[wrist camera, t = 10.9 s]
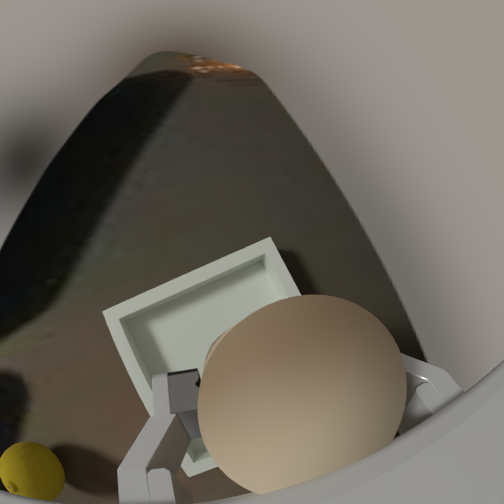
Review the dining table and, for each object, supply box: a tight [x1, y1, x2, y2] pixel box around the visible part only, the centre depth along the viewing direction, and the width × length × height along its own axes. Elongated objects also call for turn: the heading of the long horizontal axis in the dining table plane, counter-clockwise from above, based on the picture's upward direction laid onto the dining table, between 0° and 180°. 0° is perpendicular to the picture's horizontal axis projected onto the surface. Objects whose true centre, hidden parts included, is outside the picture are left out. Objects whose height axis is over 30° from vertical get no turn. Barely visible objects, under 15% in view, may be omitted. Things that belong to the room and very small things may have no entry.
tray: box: [102, 237, 301, 477], centre depth 21 cm, size 14×14×3 cm
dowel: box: [197, 295, 407, 495], centre depth 10 cm, size 4×4×10 cm
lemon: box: [0, 442, 65, 501], centre depth 13 cm, size 6×6×8 cm
